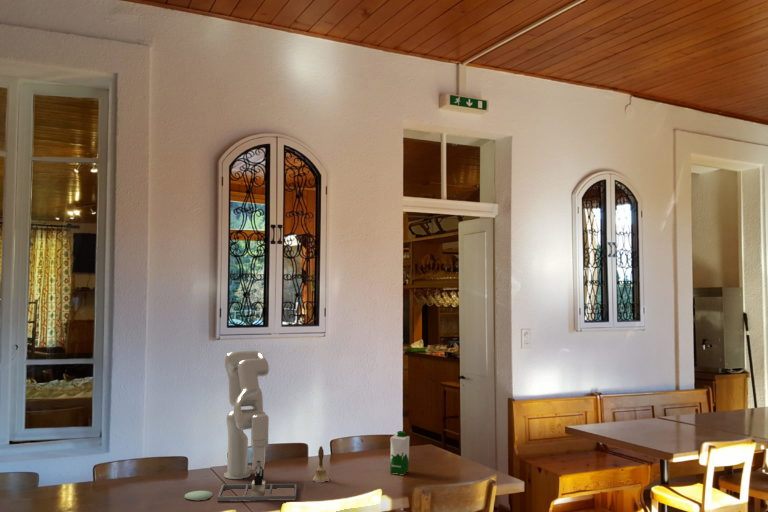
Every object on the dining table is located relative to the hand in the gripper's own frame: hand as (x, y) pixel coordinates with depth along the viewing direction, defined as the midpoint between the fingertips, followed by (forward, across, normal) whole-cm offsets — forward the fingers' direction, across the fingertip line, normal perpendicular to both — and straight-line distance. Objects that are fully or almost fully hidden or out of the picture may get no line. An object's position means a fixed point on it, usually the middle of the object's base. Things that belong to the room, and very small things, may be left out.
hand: (259, 482), depth 307 cm
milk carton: (+6, -34, +67) cm, 75 cm away
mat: (+6, -1, -26) cm, 27 cm away
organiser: (+6, -1, 0) cm, 6 cm away
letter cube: (+6, -1, 0) cm, 6 cm away
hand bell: (+6, -24, +28) cm, 37 cm away
